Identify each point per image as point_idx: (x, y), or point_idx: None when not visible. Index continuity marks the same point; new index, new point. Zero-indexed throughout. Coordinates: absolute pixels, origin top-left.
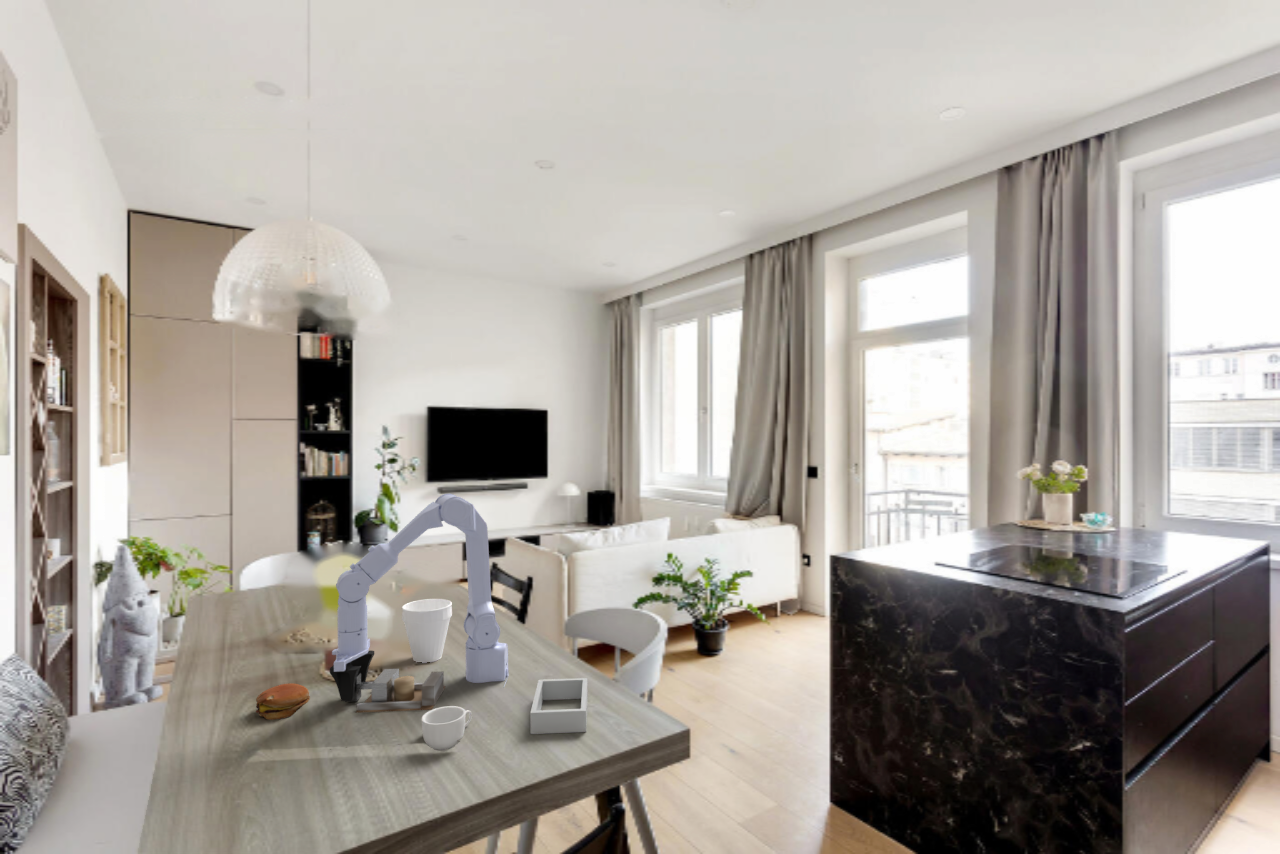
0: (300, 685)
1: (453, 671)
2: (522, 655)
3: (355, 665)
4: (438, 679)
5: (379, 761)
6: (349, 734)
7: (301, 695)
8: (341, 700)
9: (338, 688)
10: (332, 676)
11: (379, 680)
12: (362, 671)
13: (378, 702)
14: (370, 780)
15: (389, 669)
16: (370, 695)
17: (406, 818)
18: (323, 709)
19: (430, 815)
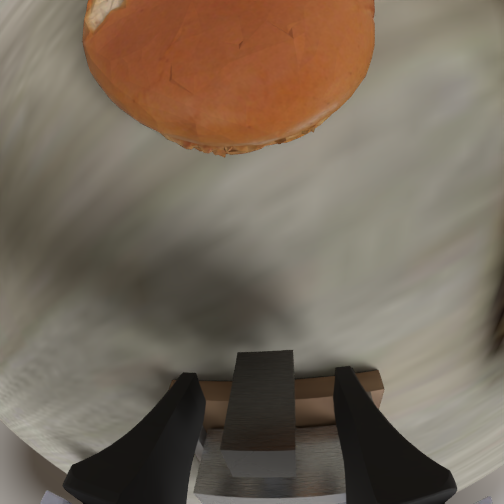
0: (320, 54)
1: (472, 435)
2: (481, 468)
3: (354, 474)
4: None
5: (60, 426)
6: (99, 382)
7: (197, 136)
8: (181, 374)
9: (148, 414)
10: (89, 457)
11: (226, 501)
12: (346, 459)
13: (202, 451)
14: (29, 416)
15: (345, 498)
16: (317, 398)
17: (20, 435)
18: (249, 233)
19: (33, 448)
